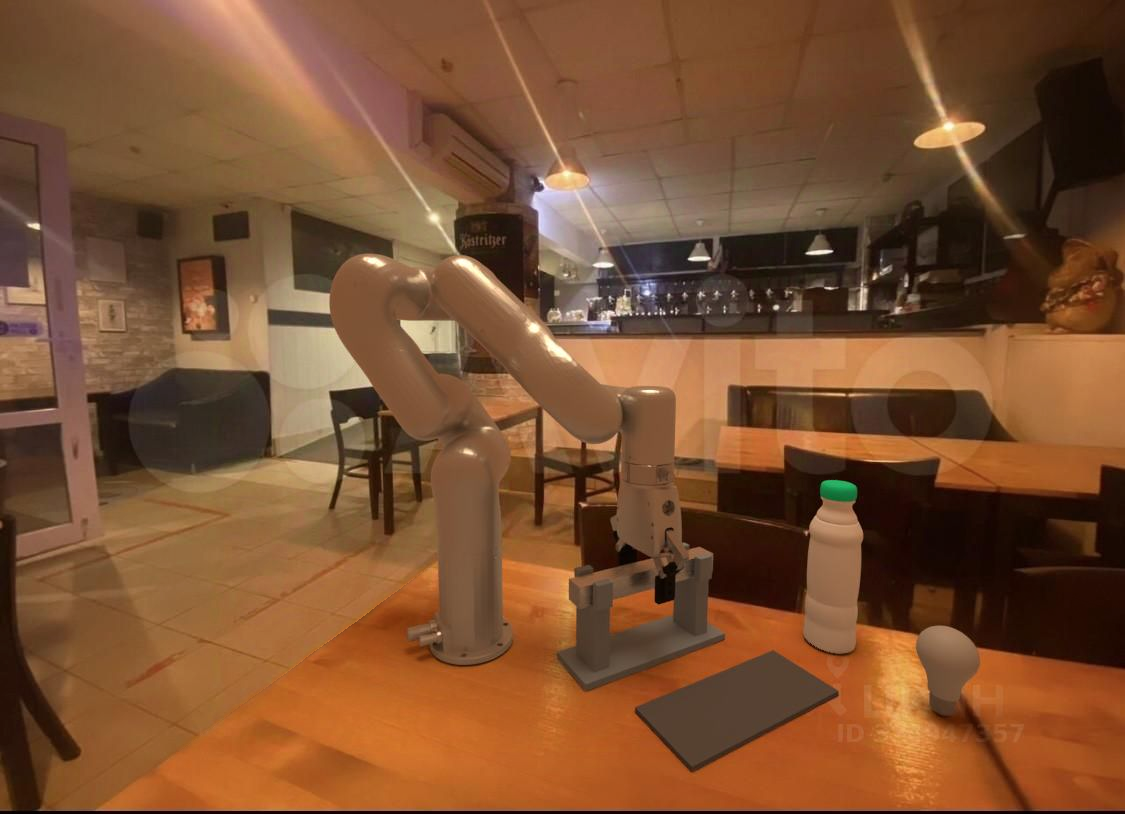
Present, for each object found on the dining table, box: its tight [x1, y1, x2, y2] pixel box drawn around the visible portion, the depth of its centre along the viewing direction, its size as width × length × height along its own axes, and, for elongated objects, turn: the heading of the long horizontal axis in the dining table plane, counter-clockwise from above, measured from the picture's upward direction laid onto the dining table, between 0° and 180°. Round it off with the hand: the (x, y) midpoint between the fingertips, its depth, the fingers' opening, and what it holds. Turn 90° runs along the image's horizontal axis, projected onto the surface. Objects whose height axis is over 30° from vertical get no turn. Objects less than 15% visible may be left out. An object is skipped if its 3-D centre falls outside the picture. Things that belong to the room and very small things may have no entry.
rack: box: [556, 542, 726, 692], centre depth 73 cm, size 25×8×14 cm, turn 118°
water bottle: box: [802, 479, 864, 655], centre depth 74 cm, size 7×7×25 cm
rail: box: [568, 546, 714, 609], centre depth 73 cm, size 24×3×3 cm, turn 118°
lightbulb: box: [915, 625, 981, 717], centre depth 60 cm, size 6×6×11 cm
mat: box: [634, 649, 840, 773], centre depth 62 cm, size 25×10×1 cm, turn 118°
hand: (644, 587), depth 73 cm, fingers open, 8 cm apart
